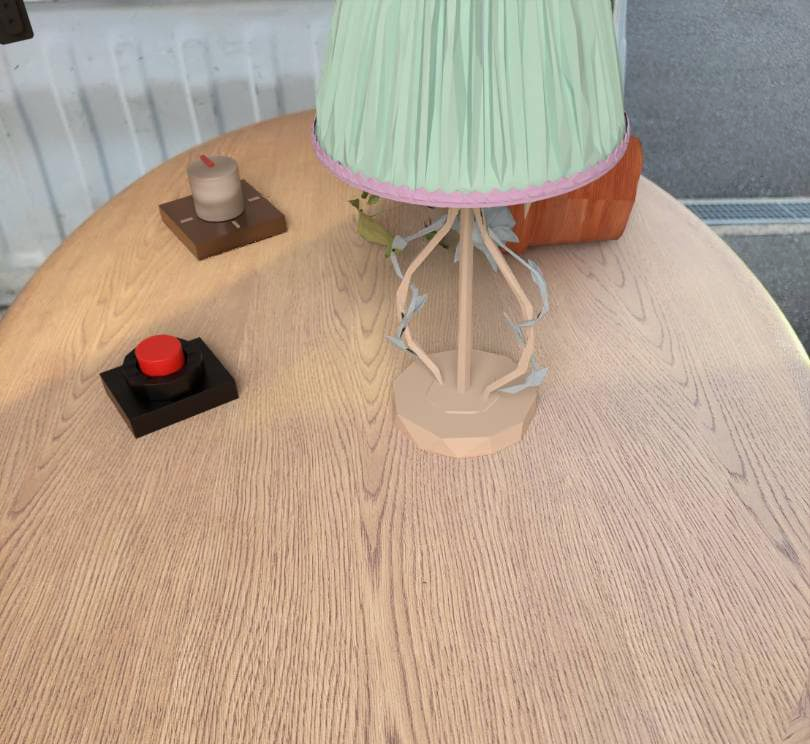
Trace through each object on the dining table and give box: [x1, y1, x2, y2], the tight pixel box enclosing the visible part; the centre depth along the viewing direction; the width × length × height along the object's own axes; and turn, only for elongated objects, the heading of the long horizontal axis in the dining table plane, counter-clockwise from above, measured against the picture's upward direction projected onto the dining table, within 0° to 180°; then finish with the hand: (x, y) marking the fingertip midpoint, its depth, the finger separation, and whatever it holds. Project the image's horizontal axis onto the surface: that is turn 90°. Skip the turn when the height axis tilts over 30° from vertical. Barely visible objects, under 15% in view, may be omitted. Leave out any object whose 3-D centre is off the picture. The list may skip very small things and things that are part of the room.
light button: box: [135, 334, 185, 376], centre depth 77 cm, size 4×4×2 cm
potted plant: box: [347, 135, 644, 259], centre depth 91 cm, size 16×15×35 cm
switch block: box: [99, 336, 240, 440], centre depth 79 cm, size 10×8×4 cm
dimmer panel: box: [158, 178, 288, 261], centre depth 101 cm, size 11×11×2 cm
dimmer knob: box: [186, 154, 245, 222], centre depth 98 cm, size 6×6×5 cm
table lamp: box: [310, 0, 632, 460], centre depth 63 cm, size 22×22×40 cm
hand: (2, 25), depth 81 cm, fingers open, 9 cm apart
